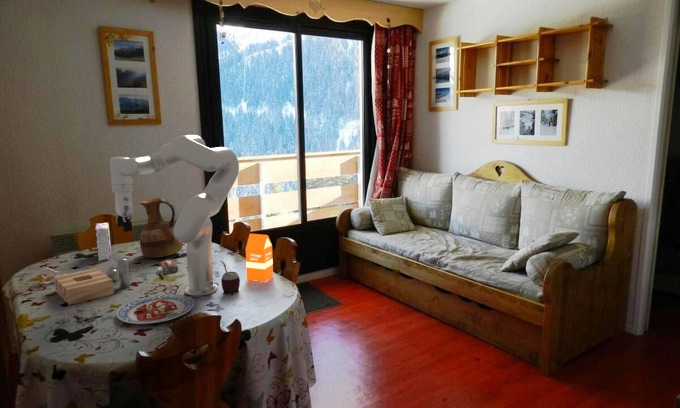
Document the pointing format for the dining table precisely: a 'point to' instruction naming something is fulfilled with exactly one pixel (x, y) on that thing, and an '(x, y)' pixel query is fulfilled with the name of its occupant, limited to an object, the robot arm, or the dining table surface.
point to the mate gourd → (230, 282)
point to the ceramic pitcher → (158, 231)
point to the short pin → (113, 274)
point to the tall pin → (123, 273)
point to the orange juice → (259, 258)
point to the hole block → (83, 286)
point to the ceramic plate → (155, 309)
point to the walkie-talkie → (167, 267)
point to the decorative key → (46, 277)
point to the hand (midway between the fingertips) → (124, 228)
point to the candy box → (103, 241)
